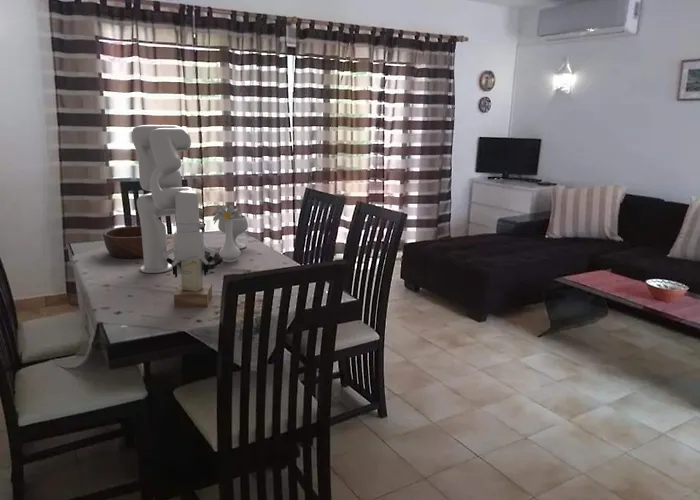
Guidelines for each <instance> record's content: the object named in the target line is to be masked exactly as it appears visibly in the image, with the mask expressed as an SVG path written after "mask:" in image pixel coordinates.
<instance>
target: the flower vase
mask: <svg viewBox="0 0 700 500" xmlns="http://www.w3.org/2000/svg"><path fill="white" fill-rule="evenodd" d="M242 213H243V212H242V210H241V209H239V206H238V205H236V208H235V207H234V205H232V204H230V205H229V207H228V206H227V205H226V204H222V206H220V205H219V204H218V205H217V206H216V208H215V209H214V212H213V213H212V214H211V215H212V216H214V217H213V219H212V222H213V225H215V224H216V223H217V222H218V221H219V220H220V221H223V220H224V223H225V229H226V234H225V239H224V244H223V245H224V246H223V247H222V248H221V247H220V249H219V252H218V255H219V257H220V259H222V261H223V262H224V263H234V262H237V261H238V258H239V257H240V256H241V253H242V252H241V249H239V248H238V247H237V246H236V245H235V243H234V240H233V231H232V225H233V220H234V217H237V218H240V219H241V220H243V218H242V217H241V215H243V214H242ZM243 221H244V220H243Z"/></svg>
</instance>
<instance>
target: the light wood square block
mask: <svg viewBox="0 0 700 500" xmlns="http://www.w3.org/2000/svg"><path fill="white" fill-rule="evenodd" d="M212 286H213V285H212V284H210V283H209V284H207V283H206V284H203V288H202V289H200V290H199V291H190V290H183V289H182V284H179V286H178V288H177V289H176V290H175V292H174V294H173V304H174V305H173V306H174V309H176V308H177V309H178V308H179V309H180V308H181V309H183V308H187V309H188V308H208V307H209V305H210V302H211V300H212V298H213V287H212Z"/></svg>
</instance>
